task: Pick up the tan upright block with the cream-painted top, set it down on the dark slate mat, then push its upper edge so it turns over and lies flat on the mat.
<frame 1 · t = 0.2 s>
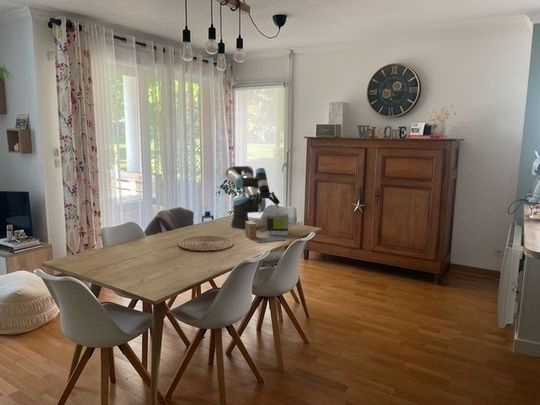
hand: (268, 212, 293), 16 cm above the table, tool tilted 35°, fingers open, 13 cm apart
slate mat: (269, 239, 276), on the table
tan upright block: (250, 237, 282), on the table
tea box: (277, 234, 293), on the table
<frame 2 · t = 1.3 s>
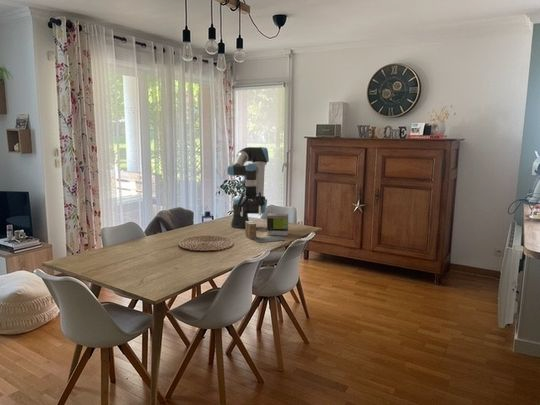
hand: (250, 215, 279), 16 cm above the table, tool pointing down, fingers open, 13 cm apart
nothing on the table moved.
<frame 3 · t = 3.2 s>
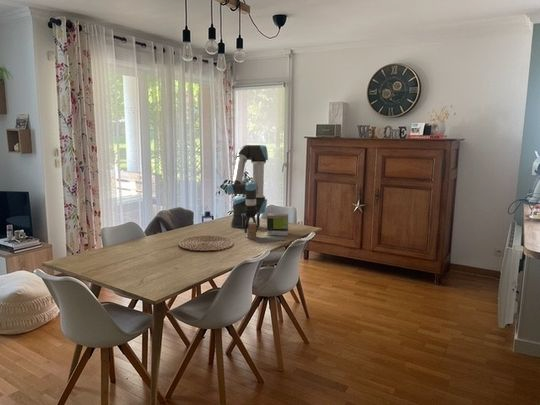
hand: (250, 236, 282), 0 cm above the table, tool pointing down, fingers closed on tan upright block, 5 cm apart
tan upright block: (250, 237, 282), on the table, touching gripper
everything else where it was.
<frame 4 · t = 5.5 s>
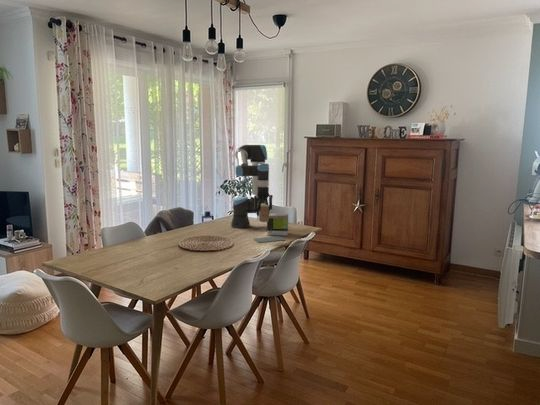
hand: (262, 220, 272), 15 cm above the table, tool pointing down, fingers closed on tan upright block, 5 cm apart
tan upright block: (262, 220, 272), point 14 cm above the table, touching gripper
everything else where it was.
when the fingers open (2 cm above the table, at t = 8.1 s): tan upright block stays where it is, resting on slate mat.
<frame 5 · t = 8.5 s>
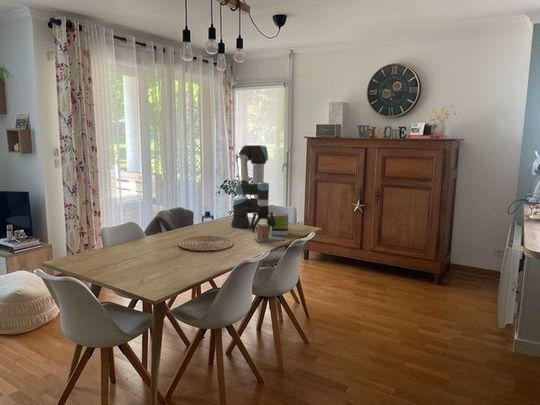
hand: (262, 236, 273), 3 cm above the table, tool pointing down, fingers open, 11 cm apart
tan upright block: (262, 239, 274), point 1 cm above the table, touching slate mat
everything else where it was.
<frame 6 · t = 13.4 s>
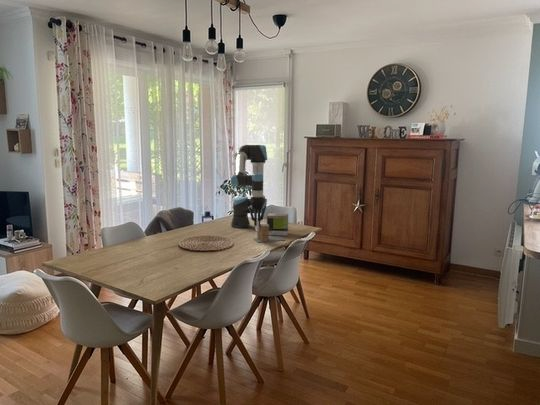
hand: (257, 230, 271), 8 cm above the table, tool pointing down, fingers closed
tan upright block: (262, 239, 274), point 1 cm above the table, touching gripper, slate mat
everything else where it was.
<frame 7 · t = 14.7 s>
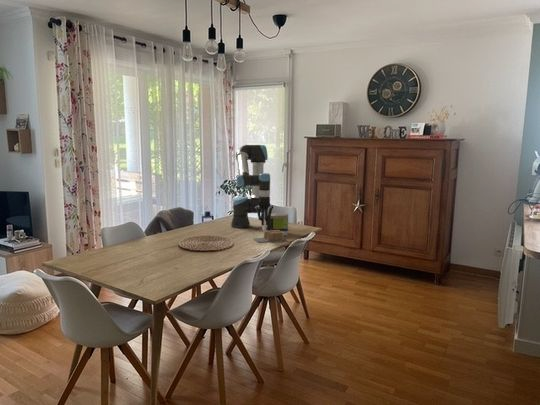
hand: (264, 229, 273), 7 cm above the table, tool pointing down, fingers closed
tan upright block: (266, 235, 274), point 3 cm above the table, tilted 90°, touching slate mat
everything else where it was.
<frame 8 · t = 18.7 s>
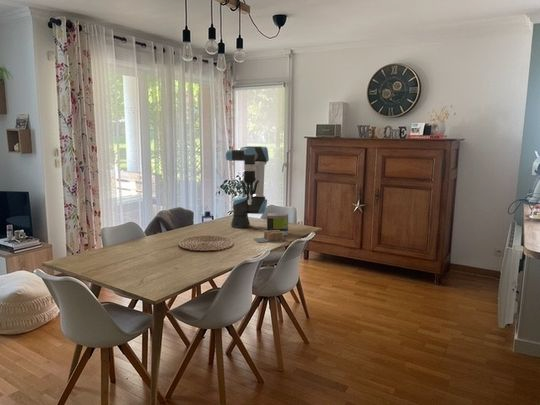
hand: (249, 204, 275), 24 cm above the table, tool pointing down, fingers closed
nothing on the table moved.
at the end: tan upright block tilted 90°; tan upright block inside the target area (3.0 cm from its centre), point 3.1 cm above the table; the gripper is holding nothing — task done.
